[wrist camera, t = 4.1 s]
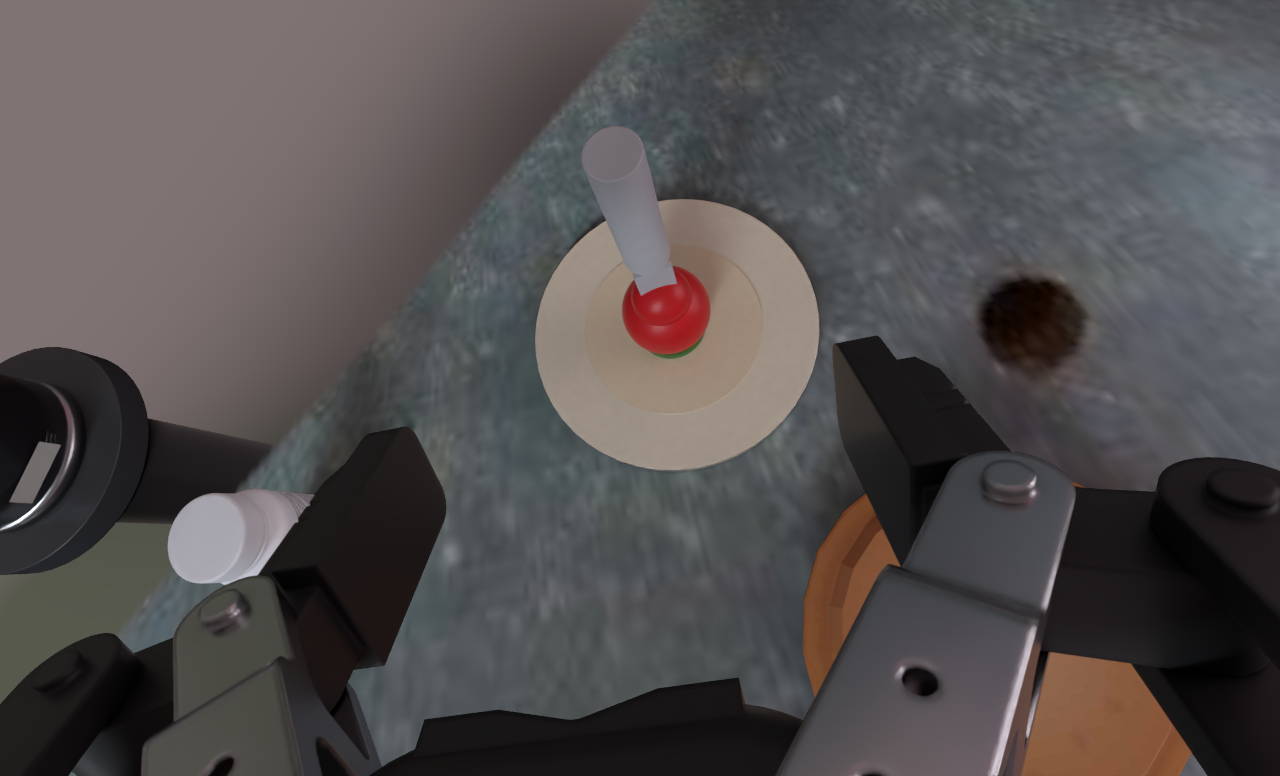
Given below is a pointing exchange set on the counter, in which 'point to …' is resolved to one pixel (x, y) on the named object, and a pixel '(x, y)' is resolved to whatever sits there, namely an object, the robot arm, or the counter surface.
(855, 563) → the pie
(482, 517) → the counter surface
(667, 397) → the plate
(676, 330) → the forked strawberry
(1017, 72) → the counter surface
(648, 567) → the counter surface
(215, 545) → the pill bottle
